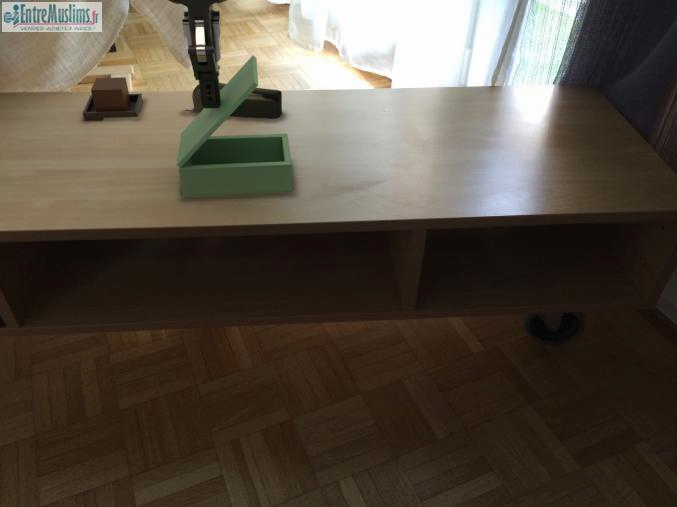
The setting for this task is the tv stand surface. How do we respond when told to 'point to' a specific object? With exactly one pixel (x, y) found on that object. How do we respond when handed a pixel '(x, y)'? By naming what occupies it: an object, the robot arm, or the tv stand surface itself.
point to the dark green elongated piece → (250, 103)
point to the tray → (133, 111)
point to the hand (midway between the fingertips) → (211, 105)
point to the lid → (218, 110)
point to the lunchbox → (238, 166)
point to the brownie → (111, 94)
